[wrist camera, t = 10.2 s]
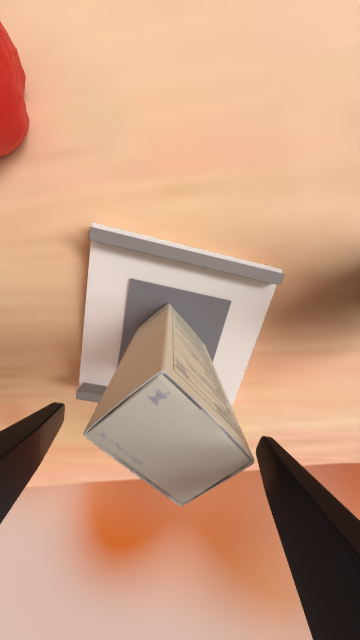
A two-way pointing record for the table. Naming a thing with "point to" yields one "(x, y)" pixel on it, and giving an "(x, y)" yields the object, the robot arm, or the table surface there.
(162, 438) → the skincare box
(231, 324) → the stand
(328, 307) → the table surface
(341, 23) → the table surface
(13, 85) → the pomegranate
